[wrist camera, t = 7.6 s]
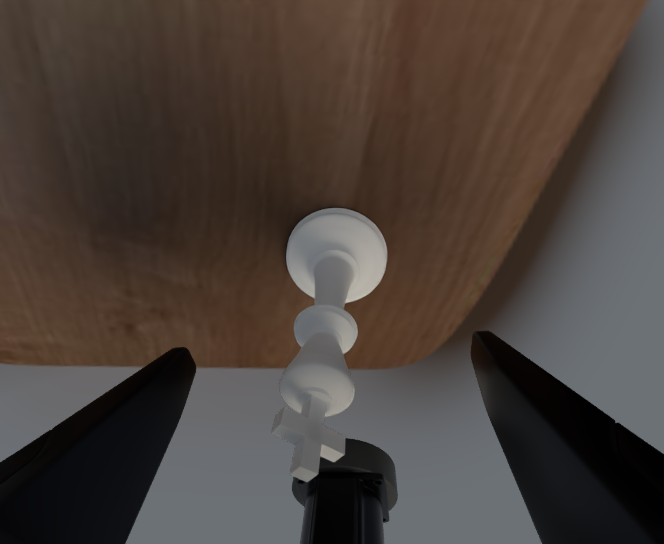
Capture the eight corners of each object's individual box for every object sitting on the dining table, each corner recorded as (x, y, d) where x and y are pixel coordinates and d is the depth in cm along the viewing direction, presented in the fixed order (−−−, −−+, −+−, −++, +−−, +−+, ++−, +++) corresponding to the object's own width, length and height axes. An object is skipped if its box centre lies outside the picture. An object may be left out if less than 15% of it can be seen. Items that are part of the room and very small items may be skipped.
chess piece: (321, 185, 13) (248, 349, 5) (408, 245, 14) (483, 470, 6) (269, 265, 15) (154, 476, 7) (348, 312, 16) (335, 546, 8)
